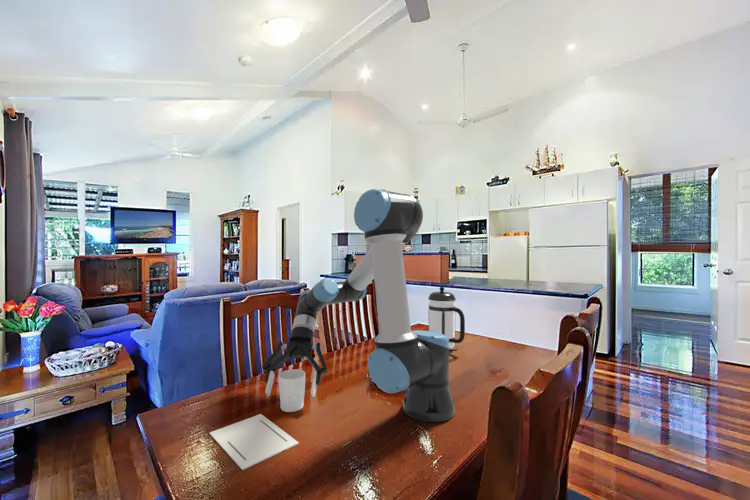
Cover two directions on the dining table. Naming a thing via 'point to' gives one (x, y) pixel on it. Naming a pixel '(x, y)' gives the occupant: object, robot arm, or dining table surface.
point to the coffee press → (445, 316)
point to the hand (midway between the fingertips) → (290, 394)
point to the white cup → (292, 390)
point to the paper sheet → (252, 440)
